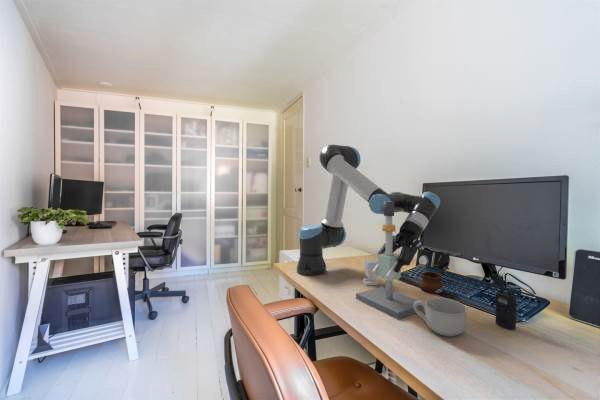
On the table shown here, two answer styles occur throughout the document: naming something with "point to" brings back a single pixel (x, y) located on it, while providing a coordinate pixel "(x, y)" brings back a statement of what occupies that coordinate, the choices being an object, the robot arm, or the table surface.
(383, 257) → the sleeve
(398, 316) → the post
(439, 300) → the teacup
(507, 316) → the two-way radio
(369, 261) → the security camera
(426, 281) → the ceramic pot
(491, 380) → the table surface
